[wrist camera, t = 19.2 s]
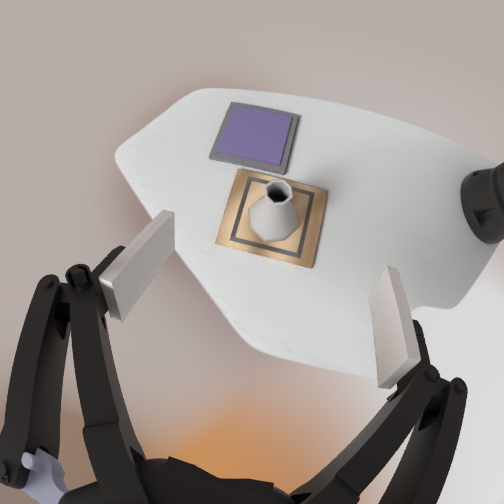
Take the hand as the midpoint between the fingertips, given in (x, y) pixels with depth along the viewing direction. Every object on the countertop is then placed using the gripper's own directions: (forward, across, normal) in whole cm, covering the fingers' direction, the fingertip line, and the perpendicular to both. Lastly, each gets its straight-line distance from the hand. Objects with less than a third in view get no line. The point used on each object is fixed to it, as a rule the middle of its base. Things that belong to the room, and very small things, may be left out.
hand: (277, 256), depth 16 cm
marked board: (+22, -2, -10) cm, 24 cm away
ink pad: (+32, -8, 0) cm, 33 cm away
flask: (+22, -2, -10) cm, 24 cm away
